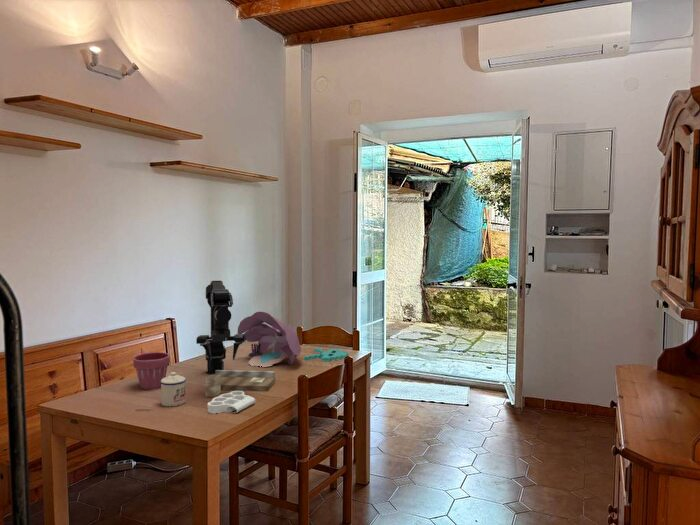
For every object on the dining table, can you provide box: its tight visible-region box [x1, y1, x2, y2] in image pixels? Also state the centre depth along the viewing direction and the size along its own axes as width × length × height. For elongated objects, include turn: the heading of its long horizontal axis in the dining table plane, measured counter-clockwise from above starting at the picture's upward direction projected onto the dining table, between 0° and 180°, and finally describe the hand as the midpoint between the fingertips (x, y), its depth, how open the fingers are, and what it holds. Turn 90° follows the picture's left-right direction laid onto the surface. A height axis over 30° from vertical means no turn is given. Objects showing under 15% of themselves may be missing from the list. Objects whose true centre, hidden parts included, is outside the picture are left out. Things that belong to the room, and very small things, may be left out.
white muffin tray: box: [207, 390, 256, 415], centre depth 184 cm, size 3×18×15 cm
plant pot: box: [132, 351, 171, 390], centre depth 207 cm, size 14×14×13 cm
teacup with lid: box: [160, 371, 187, 408], centre depth 188 cm, size 12×9×12 cm
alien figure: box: [303, 347, 349, 362], centre depth 259 cm, size 20×2×20 cm
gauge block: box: [205, 374, 222, 398], centre depth 197 cm, size 4×6×7 cm, turn 176°
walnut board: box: [214, 369, 276, 392], centre depth 209 cm, size 26×13×4 cm, turn 86°
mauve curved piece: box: [237, 311, 302, 368], centre depth 246 cm, size 35×24×28 cm
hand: (222, 360), depth 198 cm, fingers open, 9 cm apart
